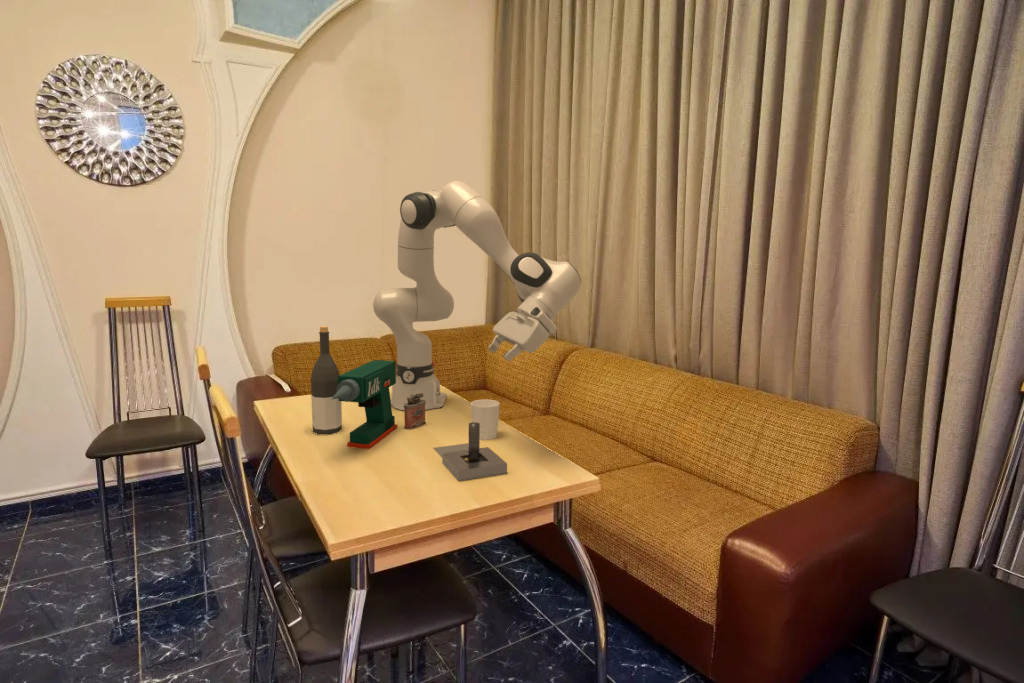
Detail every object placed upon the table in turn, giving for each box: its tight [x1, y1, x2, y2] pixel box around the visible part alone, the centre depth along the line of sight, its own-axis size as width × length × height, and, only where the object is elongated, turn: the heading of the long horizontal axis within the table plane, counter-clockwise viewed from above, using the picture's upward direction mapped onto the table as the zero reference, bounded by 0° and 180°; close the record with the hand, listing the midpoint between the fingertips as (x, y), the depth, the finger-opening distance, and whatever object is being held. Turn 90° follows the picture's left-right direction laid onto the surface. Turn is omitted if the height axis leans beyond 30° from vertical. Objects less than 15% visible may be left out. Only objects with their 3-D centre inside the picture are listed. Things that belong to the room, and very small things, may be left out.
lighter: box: [403, 393, 427, 431], centre depth 173 cm, size 8×3×10 cm, turn 147°
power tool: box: [332, 359, 398, 450], centre depth 156 cm, size 32×7×20 cm, turn 168°
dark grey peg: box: [467, 421, 481, 464], centre depth 141 cm, size 4×4×12 cm
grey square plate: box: [433, 442, 469, 458], centre depth 153 cm, size 10×10×1 cm
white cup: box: [470, 398, 501, 441], centre depth 165 cm, size 8×8×10 cm
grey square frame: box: [441, 446, 508, 482], centre depth 142 cm, size 12×12×3 cm
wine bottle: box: [310, 325, 343, 435], centre depth 167 cm, size 8×8×30 cm
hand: (497, 354), depth 150 cm, fingers open, 8 cm apart
